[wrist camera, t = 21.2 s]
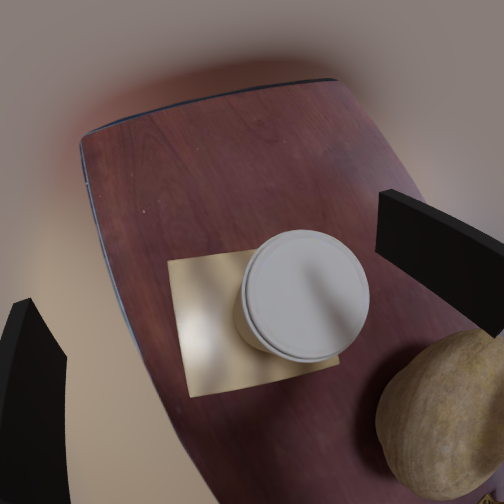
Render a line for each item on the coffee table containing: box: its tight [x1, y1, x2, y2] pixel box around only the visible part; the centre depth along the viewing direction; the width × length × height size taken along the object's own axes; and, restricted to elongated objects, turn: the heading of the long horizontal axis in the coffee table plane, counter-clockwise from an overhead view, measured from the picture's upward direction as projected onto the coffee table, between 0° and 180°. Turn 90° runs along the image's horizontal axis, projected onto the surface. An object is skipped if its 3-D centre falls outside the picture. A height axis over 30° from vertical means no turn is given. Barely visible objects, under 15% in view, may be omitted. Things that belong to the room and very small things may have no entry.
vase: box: [375, 329, 504, 501], centre depth 24 cm, size 22×22×30 cm
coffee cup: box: [233, 230, 369, 363], centre depth 26 cm, size 9×9×12 cm
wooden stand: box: [167, 249, 340, 397], centre depth 35 cm, size 16×14×8 cm
